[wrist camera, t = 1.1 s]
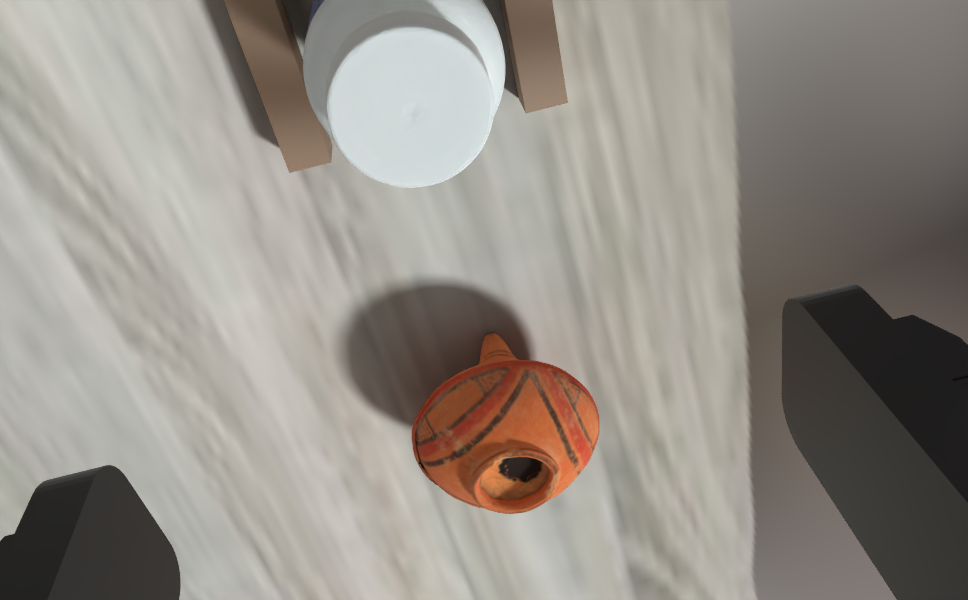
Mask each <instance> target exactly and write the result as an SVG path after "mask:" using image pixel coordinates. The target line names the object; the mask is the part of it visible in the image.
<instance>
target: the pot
mask: <svg viewBox="0 0 968 600" xmlns="http://www.w3.org/2000/svg"><path fill="white" fill-rule="evenodd" d="M598 435H599V414H598V410H597V407H596V404H595V402H594V400H593V398H592V396H591V395H590V393H589V392H588V390H587V389H586V388H585V387H584V386H583V385H582V384H581V383H580V382H579V381H578V380H576V379H575V378H574V377H573V376H571V375H570V374H568V373H567V372H565V371H564V370H562V369H560V368H558V367H556V366H553V365H550V364H546V363H542V362H538V361H530V360H518V359H517V358H516V357H515V356H514V355H513V354H512V352H511V351H510V349H509V347H508V346H507V344H506V343H505V342H504V341H503V340H502V338H501V337H500V336H499V335H498V334H497V333H491V334H488V335H486V336H485V338H484V341H483V344H482V348H481V354H480V362H479V364H478V365H476V366H473V367H470V368H468V369H465V370H463V371H461V372H460V373H458V374H456V375H454V376H453V377H451V378H449V379H448V380H446V381H445V382H444V383H442V384H441V385H440V386H439V387H438V388H437V389H436V390H435V391H434V392H433V393H432V394H431V396H430V397H429V398H428V399H427V401H426V402H425V404H424V405H423V407H422V408H421V410H420V412H419V413H418V415H417V417H416V419H415V421H414V424H413V428H412V443H413V450H414V455H415V458H416V460H417V462H418V464H419V466H420V468H421V470H422V471H423V473H424V474H425V475H426V476H427V477H428V478H429V479H430V480H431V481H433V482H434V483H435V484H436V485H438V486H439V487H440V488H441V489H443V490H444V491H445V492H446V493H448V494H449V495H451V496H452V497H454V498H456V499H458V500H460V501H463V502H465V503H467V504H470V505H472V506H476V507H480V508H485V509H488V510H491V511H494V512H499V513H506V514H513V513H523V512H527V511H530V510H532V509H535V508H537V507H539V506H540V505H542V504H544V503H545V502H546V501H548V500H550V499H552V498H553V497H555V496H557V495H558V494H560V493H561V492H562V491H563V490H565V489H566V488H567V487H568V486H569V485H570V484H571V483H572V482H573V481H574V480H575V478H576V477H577V476H578V475H579V474H580V472H581V471H582V470H583V469H584V467H585V466H586V465H587V463H588V461H589V460H590V458H591V456H592V453H593V451H594V449H595V446H596V443H597V440H598Z"/></svg>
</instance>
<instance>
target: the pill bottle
mask: <svg viewBox="0 0 968 600" xmlns="http://www.w3.org/2000/svg"><path fill="white" fill-rule="evenodd" d="M303 74H304V82H305V87H306V92H307V95H308V99H309V101H310V104H311V107H312V109H313V111H314V113H315V115H316V117H317V118H318V120H319V122H320V123H321V125H322V126H323V128H324V129H325V130H326V132H327V133H328V134H329V135H330V136H331V137H332V138H333V139H334V141H335V143H336V145H337V146H338V148H339V150H340V151H341V152H342V154H343V155H344V156H345V158H346V159H347V160H348V161H349V162H350V163H351V164H352V165H353V166H354V167H355V168H357V169H358V170H359V171H360V172H362V173H363V174H365V175H367V176H369V177H370V178H372V179H374V180H376V181H379V182H382V183H385V184H387V185H391V186H396V187H404V188H414V187H423V186H430V185H434V184H437V183H440V182H442V181H445V180H447V179H449V178H451V177H453V176H455V175H456V174H458V173H459V172H461V171H462V170H463V169H464V168H466V167H467V166H468V165H469V164H470V163H471V162H472V161H473V160H474V159H475V158H476V156H477V155H478V154H479V152H480V151H481V149H482V148H483V146H484V144H485V142H486V140H487V138H488V136H489V133H490V130H491V126H492V122H493V117H494V115H495V113H496V111H497V109H498V106H499V103H500V100H501V97H502V93H503V89H504V83H505V56H504V50H503V45H502V41H501V38H500V35H499V31H498V28H497V26H496V24H495V22H494V19H493V17H492V16H491V14H490V12H489V10H488V9H487V7H486V5H485V3H484V2H483V0H313V3H312V8H311V14H310V20H309V25H308V30H307V34H306V39H305V45H304V55H303Z"/></svg>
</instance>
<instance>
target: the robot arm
mask: <svg viewBox="0 0 968 600" xmlns="http://www.w3.org/2000/svg"><path fill="white" fill-rule="evenodd" d="M782 403H783V409H784V413H785V417H786V421H787V424H788V427H789V430H790V432H791V435H792V437H793V439H794V441H795V443H796V445H797V447H798V448H799V450H800V452H801V453H802V455H803V456H804V458H805V459H806V461H807V462H808V464H809V465H810V467H811V468H812V470H813V471H814V473H815V475H816V476H817V478H818V479H819V481H820V482H821V484H822V485H823V487H824V488H825V490H826V491H827V493H828V495H829V496H830V498H831V499H832V500H833V502H834V504H835V505H836V507H837V508H838V510H839V512H840V513H841V514H842V516H843V518H844V519H845V521H846V522H847V524H848V525H849V527H850V528H851V530H852V531H853V533H854V534H855V536H856V538H857V539H858V541H859V542H860V543H861V545H862V546H863V548H864V550H865V551H866V553H867V554H868V556H869V558H870V559H871V561H872V562H873V564H874V565H875V567H876V568H877V570H878V571H879V573H880V574H881V576H882V577H883V579H884V581H885V582H886V584H887V585H888V587H889V588H890V590H891V591H892V593H893V594H894V596H895V597H896V599H897V600H968V345H967V344H966V343H965V342H964V341H963V340H962V339H961V338H960V337H958V336H956V335H954V334H952V333H950V332H948V331H946V330H944V329H941V328H939V327H937V326H935V325H933V324H931V323H929V322H927V321H925V320H923V319H920V318H918V317H916V316H914V315H910V316H906V317H901V318H897V319H892V318H891V317H890V316H889V315H888V314H887V313H886V312H885V311H884V310H883V309H882V308H881V307H880V305H879V304H877V302H876V301H875V300H874V299H873V298H872V297H871V296H870V295H869V294H868V293H867V292H866V291H865V290H863V289H862V288H861V287H860V286H858V285H855V284H848V285H844V286H839V287H835V288H832V289H828V290H823V291H819V292H815V293H811V294H807V295H804V296H799V297H795V298H791V299H788V300H787V301H786V302H785V305H784V307H783V315H782ZM179 596H180V571H179V565H178V561H177V557H176V554H175V552H174V549H173V547H172V545H171V544H170V542H169V541H168V539H167V538H166V536H165V535H164V533H163V532H162V530H161V529H160V527H159V526H158V524H157V523H156V521H155V520H154V518H153V517H152V515H151V514H150V512H149V511H148V509H147V508H146V506H145V505H144V503H143V502H142V500H141V499H140V497H139V496H138V494H137V493H136V491H135V490H134V488H133V487H132V485H131V484H130V482H129V481H128V479H127V478H126V477H125V475H124V474H123V473H122V472H121V471H120V470H119V469H118V468H116V467H114V466H111V465H107V466H102V467H98V468H94V469H90V470H86V471H82V472H78V473H74V474H70V475H66V476H62V477H58V478H54V479H50V480H47V481H44V482H42V483H41V484H40V485H39V486H38V487H37V488H36V489H35V491H34V493H33V495H32V497H31V499H30V501H29V503H28V506H27V508H26V510H25V512H24V514H23V516H22V519H21V521H20V523H19V525H18V527H17V530H16V532H15V534H12V535H8V536H4V538H3V539H2V540H1V541H0V600H179Z"/></svg>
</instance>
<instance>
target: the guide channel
mask: <svg viewBox="0 0 968 600" xmlns="http://www.w3.org/2000/svg"><path fill="white" fill-rule="evenodd" d="M224 3H225V6H226V8H227V11H228V13H229V16H230V19H231V21H232V24H233V27H234V29H235V32H236V34H237V37H238V40H239V42H240V45H241V47H242V50H243V53H244V55H245V58H246V61H247V63H248V66H249V68H250V71H251V74H252V76H253V79H254V81H255V84H256V87H257V89H258V92H259V94H260V97H261V100H262V102H263V105H264V108H265V110H266V113H267V115H268V118H269V121H270V123H271V126H272V128H273V131H274V134H275V136H276V139H277V141H278V144H279V147H280V149H281V152H282V155H283V157H284V160H285V162H286V165H287V168H288V170H289V173H290V172H294V171H298V170H302V169H306V168H310V167H314V166H318V165H322V164H326V163H330V162H331V157H332V143H331V140H330V138H329V135H328V133H327V132H326V130H325V129H324V128H323V126H322V125H321V123H320V122H319V120H318V118H317V117H316V115H315V113H314V111H313V109H312V107H311V104H310V101H309V99H308V95H307V92H306V87H305V82H304V74H303V59H302V56H301V53H300V50H299V47H298V44H297V41H296V38H295V35H294V32H293V29H292V26H291V23H290V20H289V18H288V15H287V12H286V9H285V6H284V3H283V0H224ZM500 3H501V8H502V14H503V19H504V24H505V29H506V35H507V40H508V45H509V50H510V56H511V61H512V66H513V71H514V77H515V82H516V87H517V92H518V98H519V100H520V102H521V104H522V106H523V108H524V110H525V112H526V113H529V112H533V111H537V110H541V109H545V108H549V107H553V106H557V105H561V104H565V103H568V101H567V95H566V88H565V82H564V75H563V69H562V62H561V56H560V49H559V43H558V36H557V30H556V24H555V17H554V11H553V4H552V0H500Z"/></svg>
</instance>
